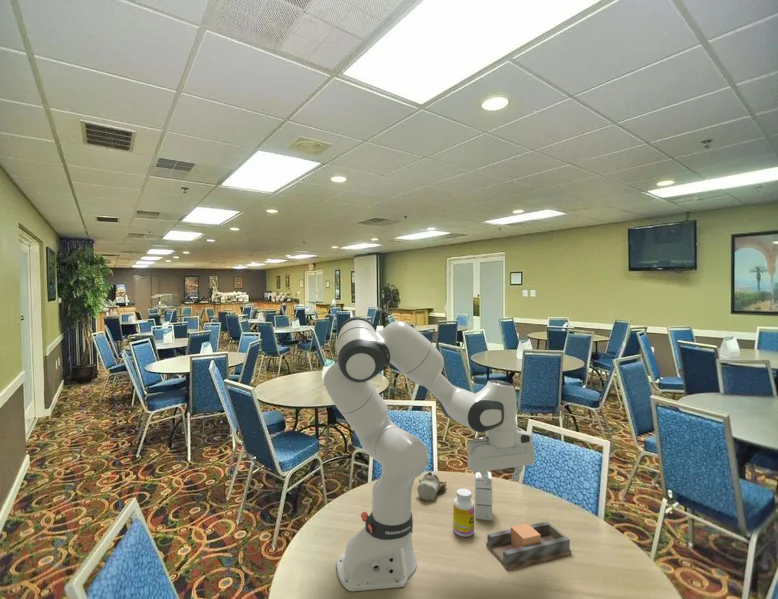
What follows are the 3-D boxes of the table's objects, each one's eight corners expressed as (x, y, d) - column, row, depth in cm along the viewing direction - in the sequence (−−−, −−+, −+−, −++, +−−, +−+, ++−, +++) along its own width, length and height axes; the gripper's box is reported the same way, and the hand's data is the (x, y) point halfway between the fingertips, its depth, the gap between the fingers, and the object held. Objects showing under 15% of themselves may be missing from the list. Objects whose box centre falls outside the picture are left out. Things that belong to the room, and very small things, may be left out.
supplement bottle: (470, 540, 121) (471, 499, 120) (450, 534, 124) (450, 494, 123) (476, 528, 126) (476, 489, 126) (456, 523, 130) (457, 485, 129)
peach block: (523, 555, 112) (523, 538, 112) (510, 542, 118) (510, 526, 118) (540, 551, 114) (540, 534, 114) (527, 539, 119) (527, 523, 119)
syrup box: (492, 521, 131) (493, 478, 130) (474, 518, 132) (475, 476, 132) (491, 511, 136) (492, 470, 136) (474, 509, 138) (474, 469, 137)
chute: (507, 570, 107) (507, 556, 107) (486, 545, 118) (486, 532, 118) (571, 554, 114) (571, 540, 114) (545, 532, 125) (545, 520, 125)
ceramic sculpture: (411, 476, 144) (422, 462, 158) (410, 500, 143) (421, 484, 157) (439, 482, 140) (448, 467, 154) (438, 506, 139) (447, 489, 153)
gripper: (473, 443, 107) (473, 492, 108) (537, 435, 112) (537, 482, 113) (463, 435, 113) (463, 481, 114) (525, 428, 118) (525, 472, 119)
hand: (501, 482), depth 113 cm, fingers open, 8 cm apart
